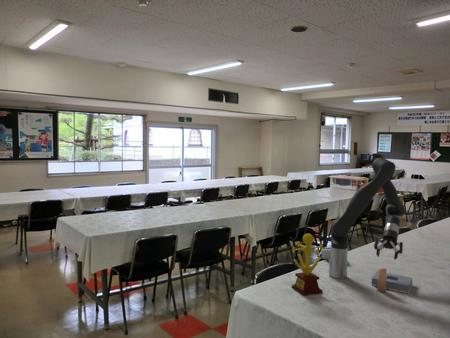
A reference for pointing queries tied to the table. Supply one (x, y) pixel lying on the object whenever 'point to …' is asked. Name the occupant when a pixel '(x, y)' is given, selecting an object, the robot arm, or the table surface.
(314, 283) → the trophy
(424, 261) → the table surface
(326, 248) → the hinge
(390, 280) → the socket block
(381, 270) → the peg
